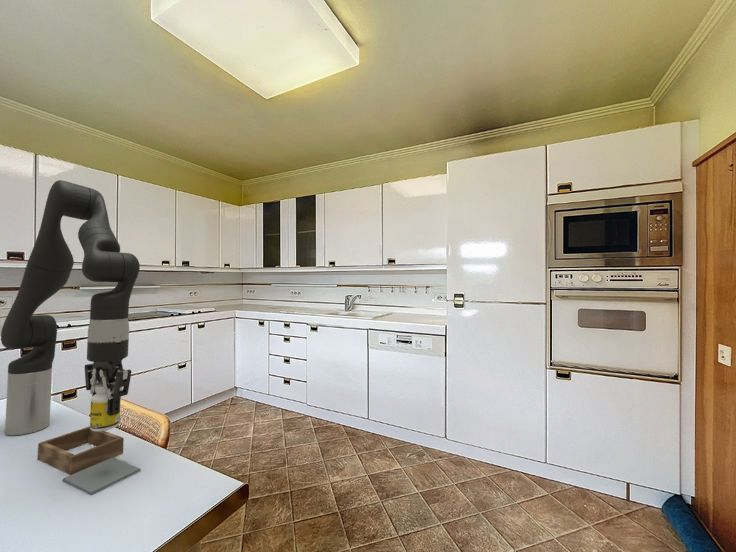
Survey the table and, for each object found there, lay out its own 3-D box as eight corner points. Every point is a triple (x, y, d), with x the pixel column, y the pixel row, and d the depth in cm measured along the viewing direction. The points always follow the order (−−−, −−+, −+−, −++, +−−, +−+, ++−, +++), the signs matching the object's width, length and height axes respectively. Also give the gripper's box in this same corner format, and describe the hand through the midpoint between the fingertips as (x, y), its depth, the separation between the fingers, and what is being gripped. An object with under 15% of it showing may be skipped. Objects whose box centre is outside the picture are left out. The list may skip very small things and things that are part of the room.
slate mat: (62, 481, 74) (62, 478, 74) (112, 459, 83) (112, 457, 83) (91, 495, 69) (91, 492, 69) (140, 471, 78) (140, 468, 78)
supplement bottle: (84, 428, 75) (86, 385, 75) (112, 420, 80) (114, 379, 80) (96, 434, 73) (98, 389, 73) (124, 425, 77) (126, 383, 78)
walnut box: (37, 459, 82) (38, 443, 82) (89, 440, 92) (90, 426, 92) (71, 475, 76) (71, 457, 76) (123, 453, 86) (123, 437, 86)
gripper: (71, 337, 76) (68, 412, 76) (109, 343, 70) (105, 424, 70) (108, 333, 83) (105, 401, 83) (145, 338, 77) (142, 412, 77)
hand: (105, 411), depth 76 cm, fingers closed on supplement bottle, 5 cm apart
